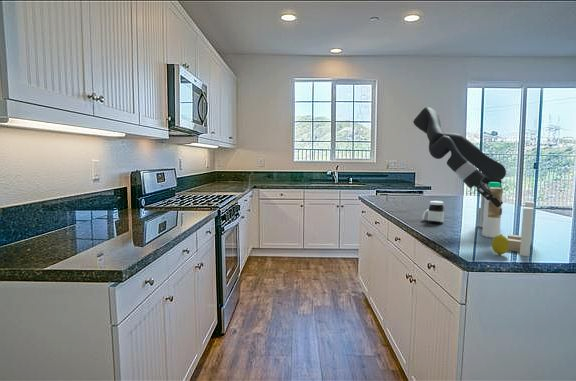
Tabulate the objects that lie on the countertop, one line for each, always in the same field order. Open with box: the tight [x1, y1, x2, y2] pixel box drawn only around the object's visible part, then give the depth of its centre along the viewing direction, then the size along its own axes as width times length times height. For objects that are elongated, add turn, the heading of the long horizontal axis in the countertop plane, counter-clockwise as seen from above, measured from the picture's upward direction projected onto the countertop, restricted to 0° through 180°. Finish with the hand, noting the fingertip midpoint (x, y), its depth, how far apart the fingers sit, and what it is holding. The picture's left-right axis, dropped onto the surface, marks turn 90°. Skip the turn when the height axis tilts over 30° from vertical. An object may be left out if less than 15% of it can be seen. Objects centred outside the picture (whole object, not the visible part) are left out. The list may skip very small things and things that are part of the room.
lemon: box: [491, 233, 509, 256], centre depth 133 cm, size 6×6×8 cm
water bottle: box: [481, 182, 503, 239], centre depth 161 cm, size 7×7×25 cm
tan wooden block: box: [488, 187, 503, 218], centre depth 146 cm, size 5×4×12 cm
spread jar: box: [421, 200, 445, 225], centre depth 194 cm, size 12×11×12 cm
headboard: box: [507, 200, 535, 257], centre depth 142 cm, size 8×22×18 cm, turn 144°
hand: (500, 205), depth 145 cm, fingers closed on tan wooden block, 4 cm apart
